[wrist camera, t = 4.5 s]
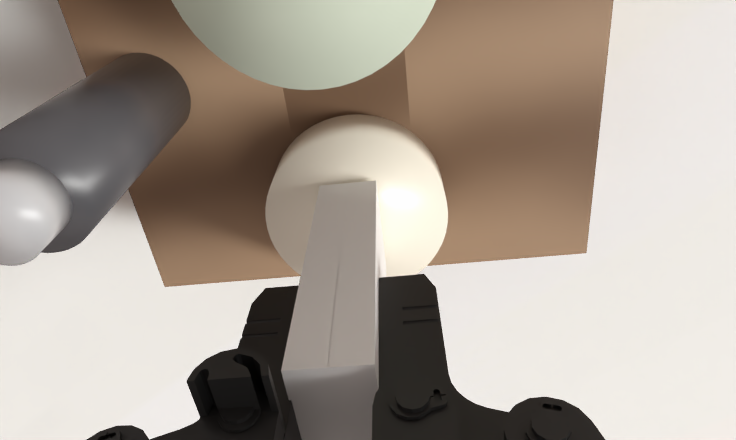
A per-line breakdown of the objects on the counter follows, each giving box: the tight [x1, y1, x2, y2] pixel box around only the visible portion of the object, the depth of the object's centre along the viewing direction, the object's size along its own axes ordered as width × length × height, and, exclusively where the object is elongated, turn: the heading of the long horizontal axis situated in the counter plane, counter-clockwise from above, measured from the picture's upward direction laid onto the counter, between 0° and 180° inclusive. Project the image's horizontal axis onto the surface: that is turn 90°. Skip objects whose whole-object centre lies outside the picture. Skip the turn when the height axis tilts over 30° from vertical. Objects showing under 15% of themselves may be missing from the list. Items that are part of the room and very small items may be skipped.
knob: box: [265, 114, 448, 277], centre depth 18 cm, size 5×5×6 cm
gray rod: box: [0, 53, 191, 266], centre depth 12 cm, size 2×2×7 cm
